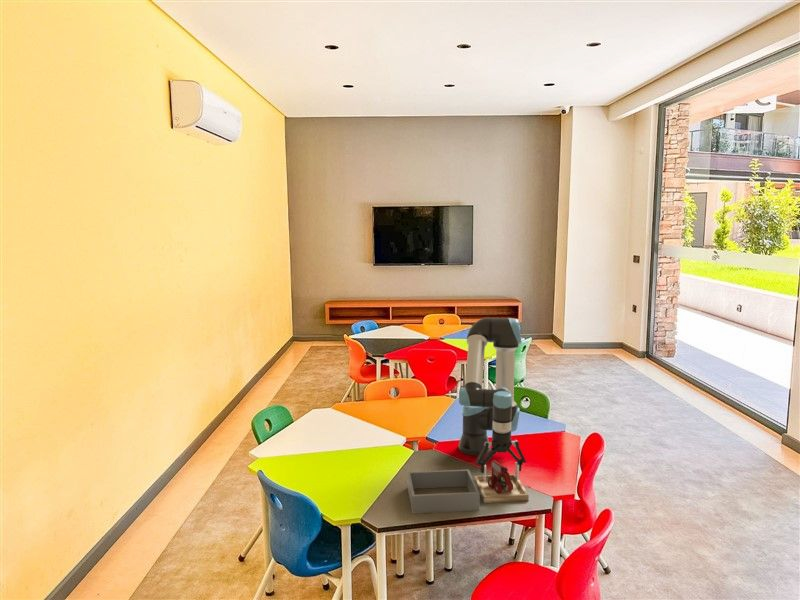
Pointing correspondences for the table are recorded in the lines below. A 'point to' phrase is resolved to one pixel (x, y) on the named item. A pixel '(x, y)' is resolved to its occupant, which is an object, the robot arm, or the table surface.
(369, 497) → the table surface
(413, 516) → the table surface
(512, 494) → the tray
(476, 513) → the table surface
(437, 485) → the bin
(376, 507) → the table surface
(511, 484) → the toy fire truck
